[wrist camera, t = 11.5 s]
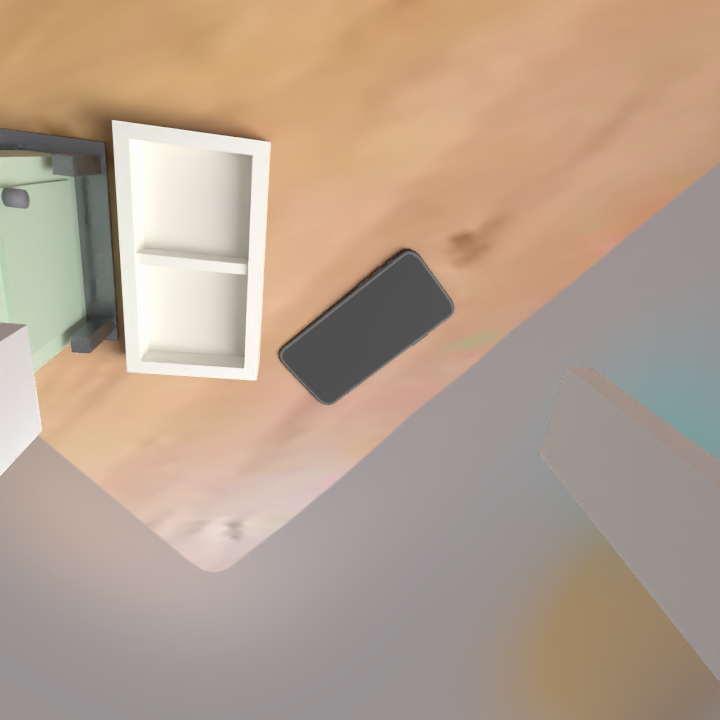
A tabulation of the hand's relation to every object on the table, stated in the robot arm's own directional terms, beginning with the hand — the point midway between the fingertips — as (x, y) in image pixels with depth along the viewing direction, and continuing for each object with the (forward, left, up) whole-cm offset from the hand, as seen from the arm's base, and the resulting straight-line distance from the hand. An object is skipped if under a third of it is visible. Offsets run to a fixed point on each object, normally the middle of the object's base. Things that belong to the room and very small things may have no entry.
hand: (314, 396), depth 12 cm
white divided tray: (+3, -8, -29) cm, 30 cm away
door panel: (+3, -18, -28) cm, 34 cm away
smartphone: (+8, +6, -29) cm, 31 cm away
